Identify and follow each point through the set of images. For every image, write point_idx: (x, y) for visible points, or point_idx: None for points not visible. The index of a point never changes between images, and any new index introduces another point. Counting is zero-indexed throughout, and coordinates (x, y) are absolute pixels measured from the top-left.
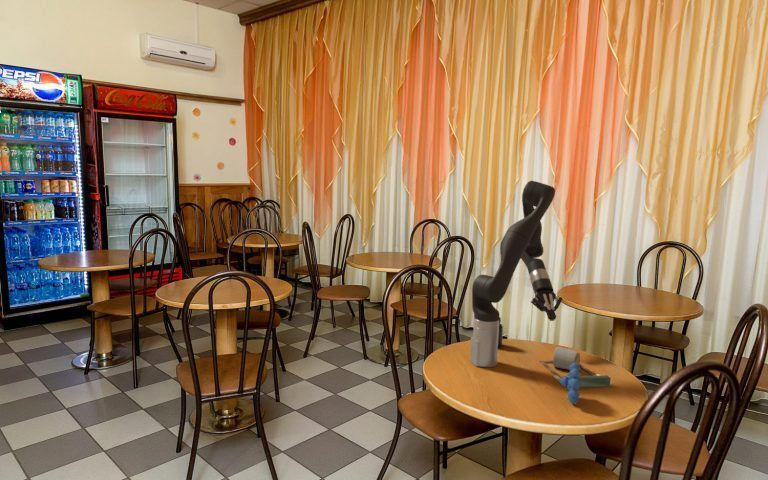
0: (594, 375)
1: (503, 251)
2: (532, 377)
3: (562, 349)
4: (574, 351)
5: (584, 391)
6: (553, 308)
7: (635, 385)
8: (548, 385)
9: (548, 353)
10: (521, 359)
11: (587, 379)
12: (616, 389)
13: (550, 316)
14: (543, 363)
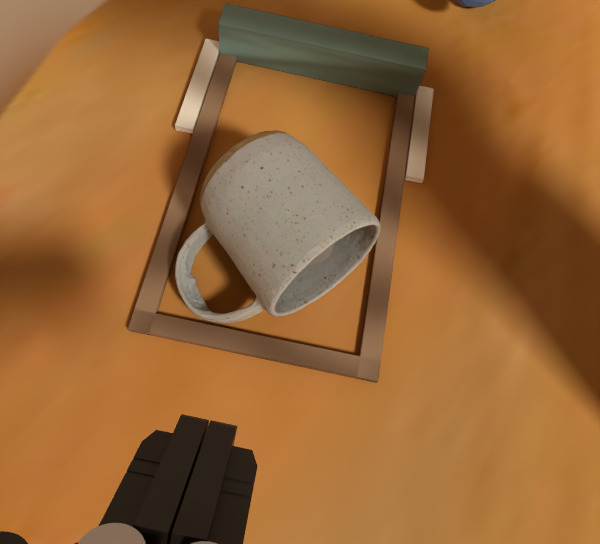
0: (208, 123)
1: None
2: (529, 210)
3: (326, 195)
4: (259, 153)
5: None
6: (104, 541)
7: (104, 10)
8: (496, 122)
9: None
10: (471, 461)
11: (341, 33)
12: None
13: (238, 462)
14: (376, 337)
